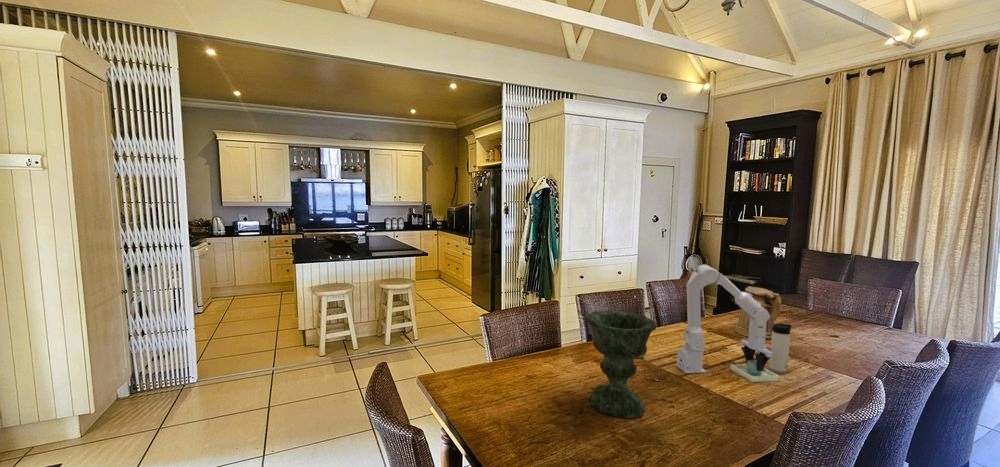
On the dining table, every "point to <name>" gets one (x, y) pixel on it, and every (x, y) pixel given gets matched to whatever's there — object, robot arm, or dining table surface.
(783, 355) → the travel mug
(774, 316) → the tankard
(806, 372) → the dining table surface
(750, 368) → the tabbed cylinder
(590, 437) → the dining table surface
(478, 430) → the dining table surface
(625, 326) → the goblet
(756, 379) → the tray
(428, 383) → the dining table surface
